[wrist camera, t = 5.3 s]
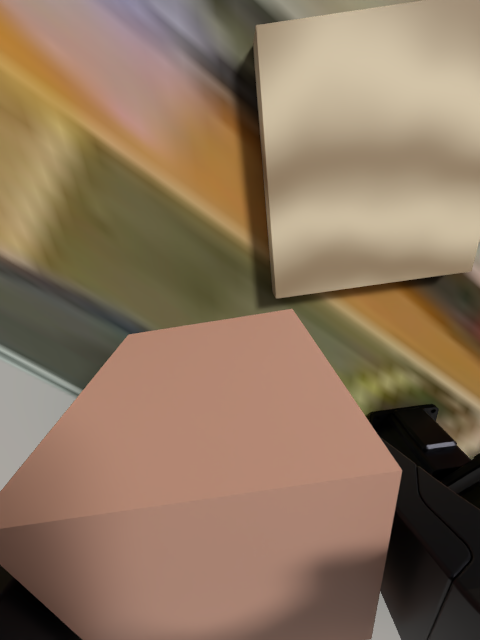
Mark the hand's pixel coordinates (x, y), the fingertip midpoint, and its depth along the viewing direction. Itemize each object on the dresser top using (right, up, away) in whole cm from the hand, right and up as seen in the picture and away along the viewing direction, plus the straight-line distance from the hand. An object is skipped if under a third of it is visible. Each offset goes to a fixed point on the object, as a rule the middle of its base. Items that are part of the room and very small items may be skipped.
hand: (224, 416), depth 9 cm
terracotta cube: (0, +1, +1) cm, 2 cm away
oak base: (+9, +13, +7) cm, 17 cm away
